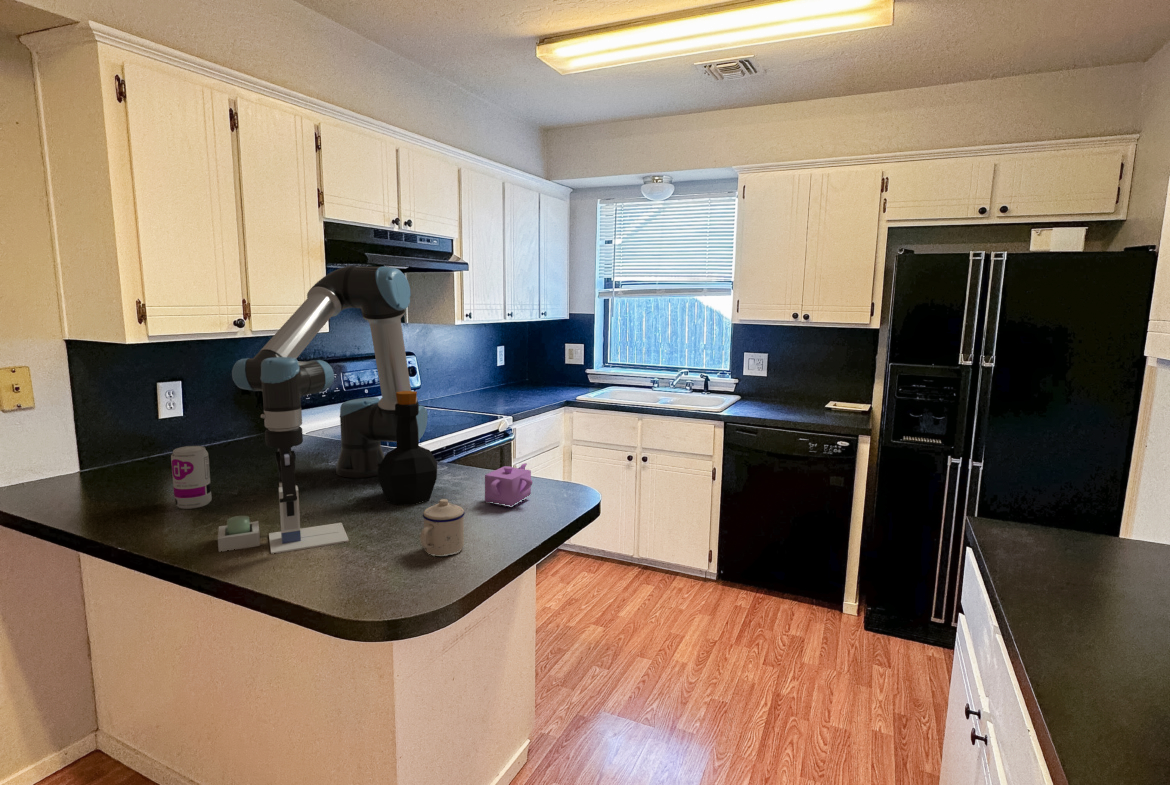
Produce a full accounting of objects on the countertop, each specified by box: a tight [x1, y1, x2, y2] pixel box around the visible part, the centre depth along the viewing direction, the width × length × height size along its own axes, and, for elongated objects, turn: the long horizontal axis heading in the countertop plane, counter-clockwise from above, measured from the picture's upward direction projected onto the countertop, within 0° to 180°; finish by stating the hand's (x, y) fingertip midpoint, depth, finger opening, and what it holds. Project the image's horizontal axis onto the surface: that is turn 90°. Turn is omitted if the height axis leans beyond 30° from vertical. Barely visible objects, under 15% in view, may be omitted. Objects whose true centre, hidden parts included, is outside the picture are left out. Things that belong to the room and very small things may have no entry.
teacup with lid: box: [419, 498, 466, 555], centre depth 138 cm, size 12×9×12 cm
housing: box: [217, 520, 261, 553], centre depth 141 cm, size 8×8×3 cm
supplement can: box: [170, 445, 213, 510], centre depth 163 cm, size 8×8×15 cm
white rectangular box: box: [278, 484, 301, 544], centre depth 142 cm, size 4×4×12 cm
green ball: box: [226, 515, 251, 535], centre depth 141 cm, size 4×4×4 cm
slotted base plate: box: [268, 522, 350, 555], centre depth 145 cm, size 16×12×1 cm
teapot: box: [484, 463, 533, 506], centre depth 172 cm, size 18×14×10 cm
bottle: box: [377, 390, 438, 506], centre depth 171 cm, size 16×16×30 cm
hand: (289, 518), depth 142 cm, fingers open, 13 cm apart
